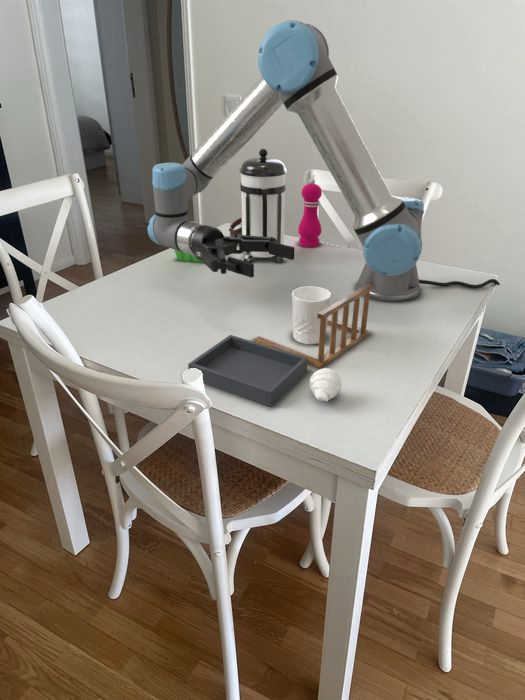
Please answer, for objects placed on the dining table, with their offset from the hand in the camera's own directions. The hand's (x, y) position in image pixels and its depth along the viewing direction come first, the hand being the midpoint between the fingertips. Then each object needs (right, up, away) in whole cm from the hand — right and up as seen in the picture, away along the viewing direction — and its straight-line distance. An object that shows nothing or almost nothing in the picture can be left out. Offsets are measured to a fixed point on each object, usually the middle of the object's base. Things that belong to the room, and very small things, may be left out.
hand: (273, 262), depth 112 cm
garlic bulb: (+8, -27, -19) cm, 34 cm away
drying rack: (+7, -16, +2) cm, 17 cm away
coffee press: (-2, +8, +45) cm, 46 cm away
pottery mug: (-8, +17, +60) cm, 63 cm away
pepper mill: (+12, +15, +56) cm, 59 cm away
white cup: (+7, -16, +2) cm, 18 cm away
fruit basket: (-22, +8, +44) cm, 49 cm away
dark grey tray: (-5, -23, -11) cm, 26 cm away
